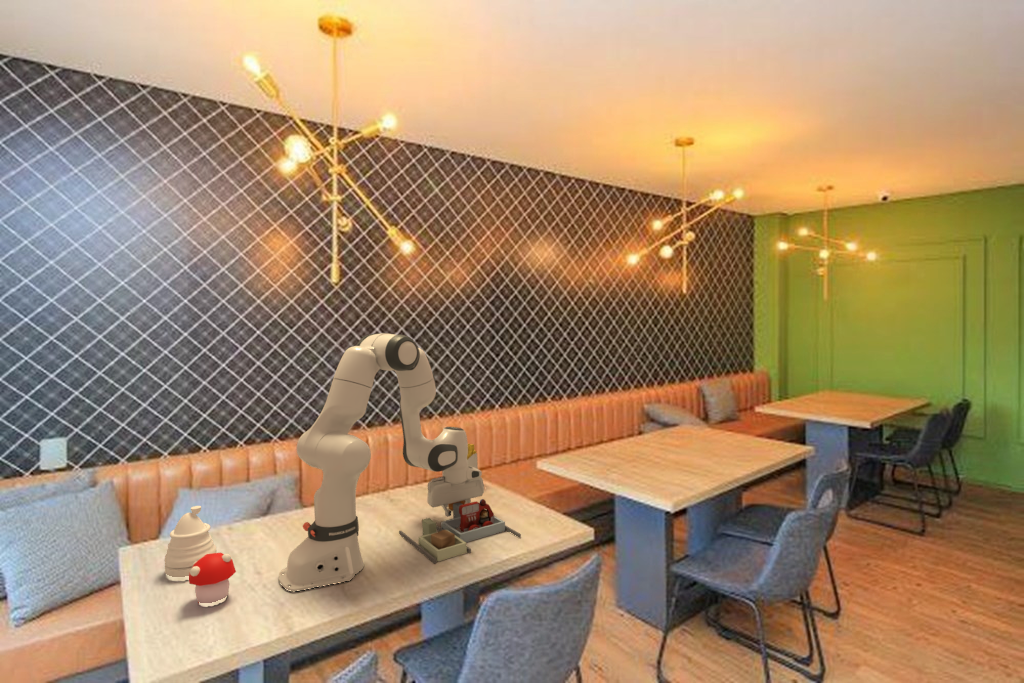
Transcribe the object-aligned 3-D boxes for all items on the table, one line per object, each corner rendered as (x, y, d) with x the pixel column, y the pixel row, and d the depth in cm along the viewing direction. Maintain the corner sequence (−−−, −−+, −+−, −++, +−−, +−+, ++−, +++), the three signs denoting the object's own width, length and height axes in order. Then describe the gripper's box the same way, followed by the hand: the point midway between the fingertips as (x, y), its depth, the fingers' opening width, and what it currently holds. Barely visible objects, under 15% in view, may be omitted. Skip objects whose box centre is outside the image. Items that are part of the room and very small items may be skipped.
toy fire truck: (499, 531, 183) (498, 500, 182) (466, 541, 176) (465, 508, 175) (488, 525, 189) (487, 494, 188) (455, 534, 182) (454, 502, 181)
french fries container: (468, 492, 221) (467, 447, 220) (453, 486, 229) (451, 442, 228) (478, 490, 224) (477, 445, 223) (462, 483, 232) (461, 440, 231)
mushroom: (179, 611, 139) (176, 564, 138) (205, 589, 149) (203, 544, 149) (221, 611, 138) (219, 564, 137) (245, 589, 149) (242, 544, 148)
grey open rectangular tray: (460, 544, 174) (459, 525, 174) (434, 526, 189) (434, 508, 188) (505, 530, 183) (504, 512, 183) (477, 514, 198) (477, 497, 198)
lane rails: (434, 563, 161) (434, 559, 161) (399, 534, 182) (399, 530, 182) (520, 537, 178) (520, 533, 178) (479, 513, 199) (479, 510, 199)
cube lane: (437, 561, 163) (436, 541, 162) (412, 541, 177) (411, 522, 177) (466, 552, 168) (466, 533, 167) (439, 533, 182) (439, 515, 182)
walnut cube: (441, 555, 166) (441, 539, 166) (431, 550, 170) (431, 534, 170) (455, 550, 170) (454, 534, 170) (444, 545, 174) (444, 529, 173)
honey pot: (220, 557, 169) (216, 498, 167) (214, 576, 157) (210, 512, 155) (170, 565, 164) (166, 504, 163) (160, 585, 152) (156, 520, 151)
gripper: (431, 482, 184) (433, 523, 185) (485, 470, 195) (486, 509, 196) (423, 477, 189) (424, 517, 190) (476, 466, 200) (477, 504, 201)
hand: (456, 513), depth 193 cm, fingers open, 5 cm apart
